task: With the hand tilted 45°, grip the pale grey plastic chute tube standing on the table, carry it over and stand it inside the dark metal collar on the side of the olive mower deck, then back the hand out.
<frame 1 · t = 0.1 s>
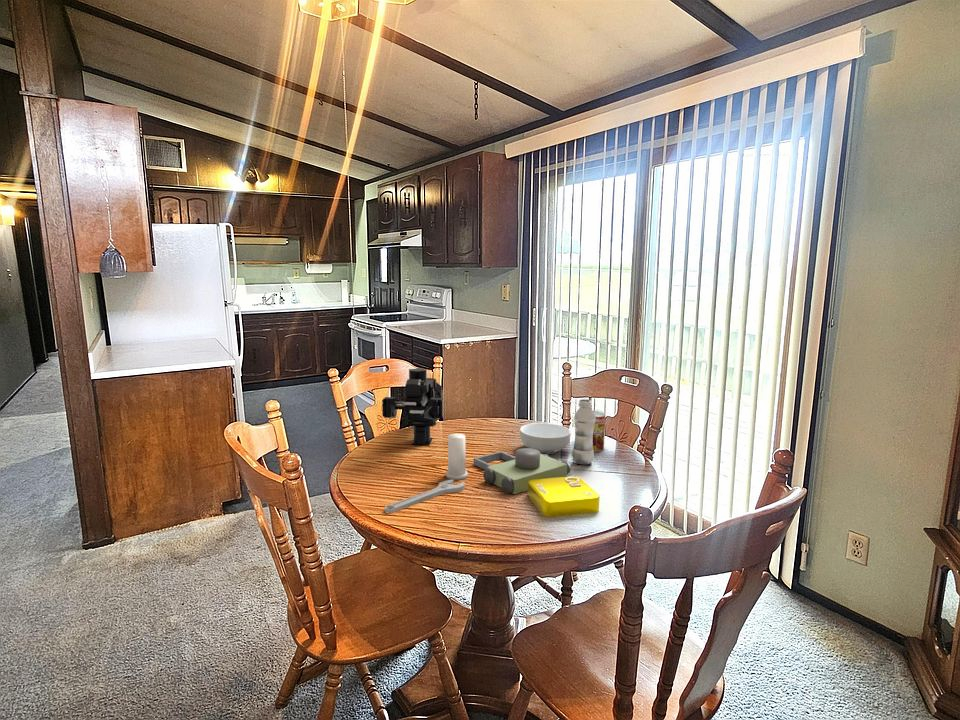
hand: (408, 415, 161), 17 cm above the table, tool horizontal, fingers open, 9 cm apart
element tile: (562, 504, 141), on the table
chute: (456, 475, 158), on the table
cereal bowl: (544, 450, 181), on the table
adjustable wrench: (424, 498, 144), on the table
mower deck: (498, 465, 166), on the table
plastic bottle: (582, 463, 169), on the table
canned food: (591, 448, 183), on the table
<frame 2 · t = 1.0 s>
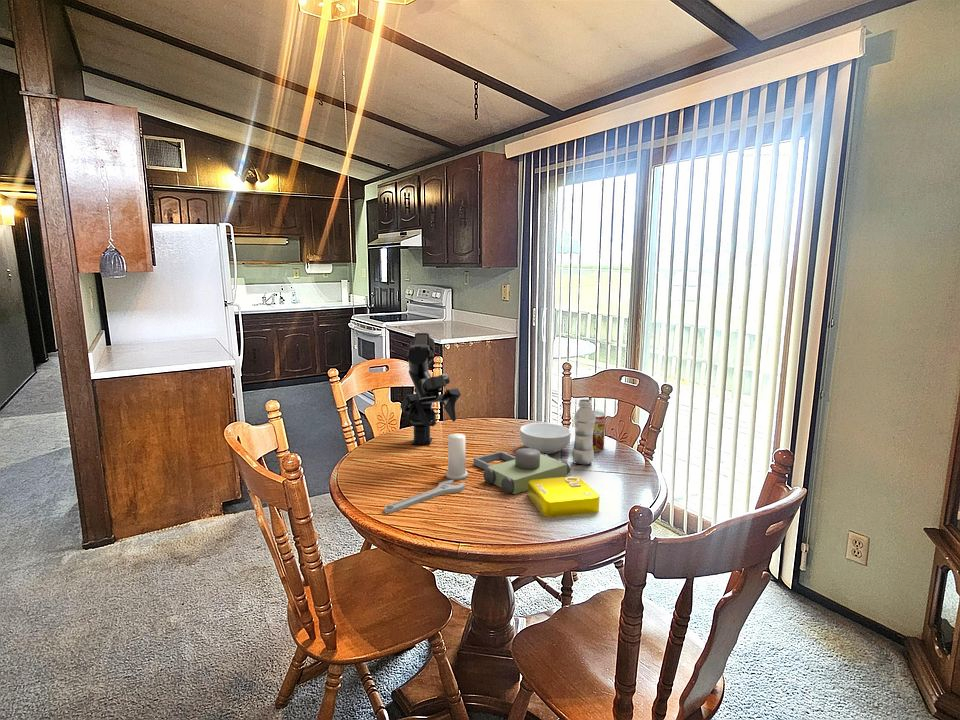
hand: (441, 423, 162), 14 cm above the table, tool tilted 45°, fingers open, 9 cm apart
nothing on the table moved.
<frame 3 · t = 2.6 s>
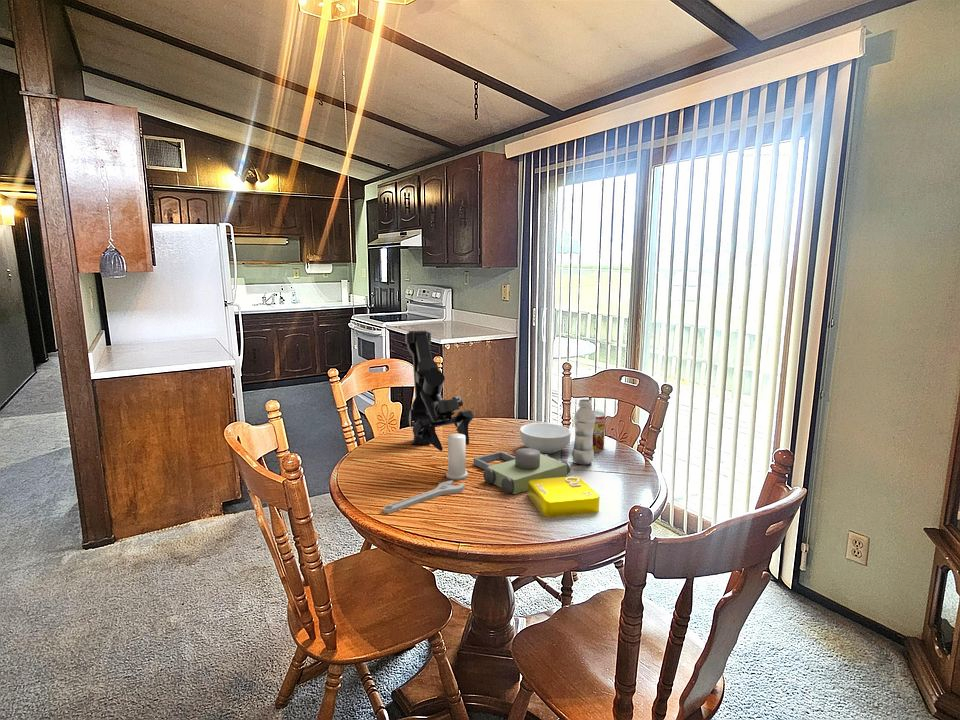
hand: (455, 447, 157), 8 cm above the table, tool tilted 45°, fingers open, 9 cm apart
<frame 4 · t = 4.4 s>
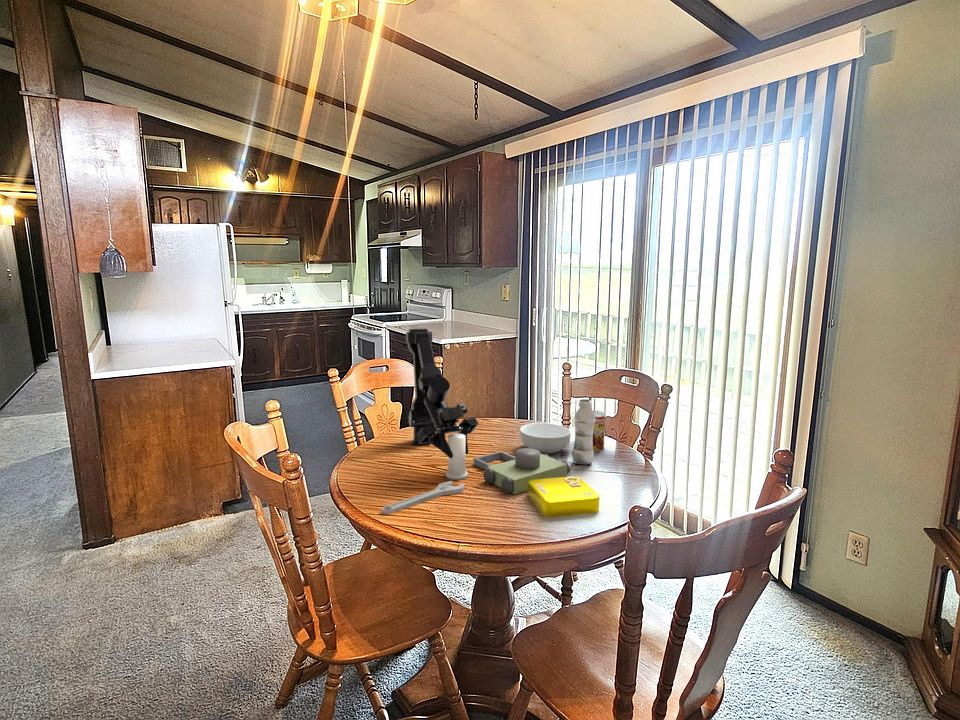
hand: (459, 455, 156), 7 cm above the table, tool tilted 45°, fingers closed on chute, 5 cm apart
chute: (456, 475, 158), on the table, touching gripper
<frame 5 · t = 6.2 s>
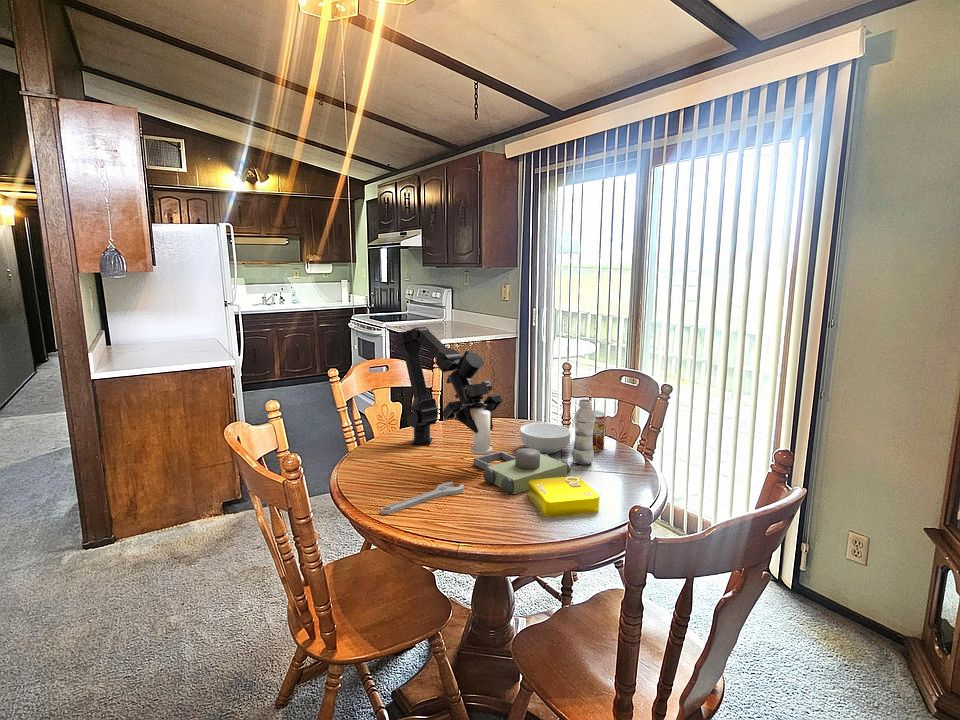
hand: (484, 430, 159), 12 cm above the table, tool tilted 45°, fingers closed on chute, 5 cm apart
chute: (481, 451, 162), point 6 cm above the table, touching gripper
when the fingers open (8 cm above the table, at t = 8.1 s): chute drops 1 cm, resting in mower deck.
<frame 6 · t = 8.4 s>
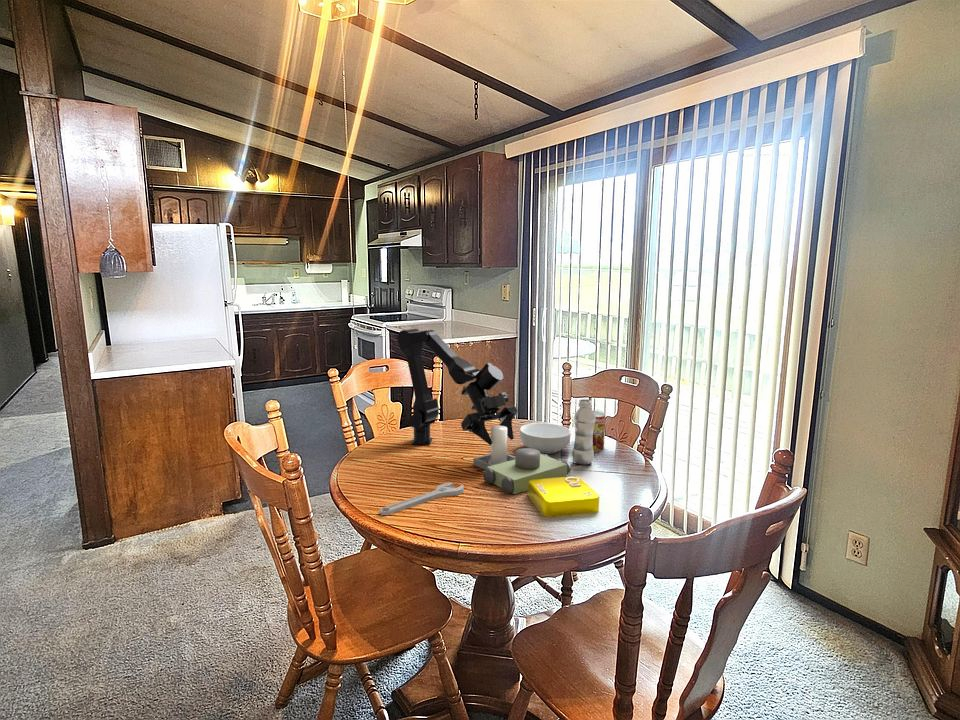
hand: (501, 441, 164), 8 cm above the table, tool tilted 45°, fingers open, 8 cm apart
chute: (498, 465, 166), resting in mower deck
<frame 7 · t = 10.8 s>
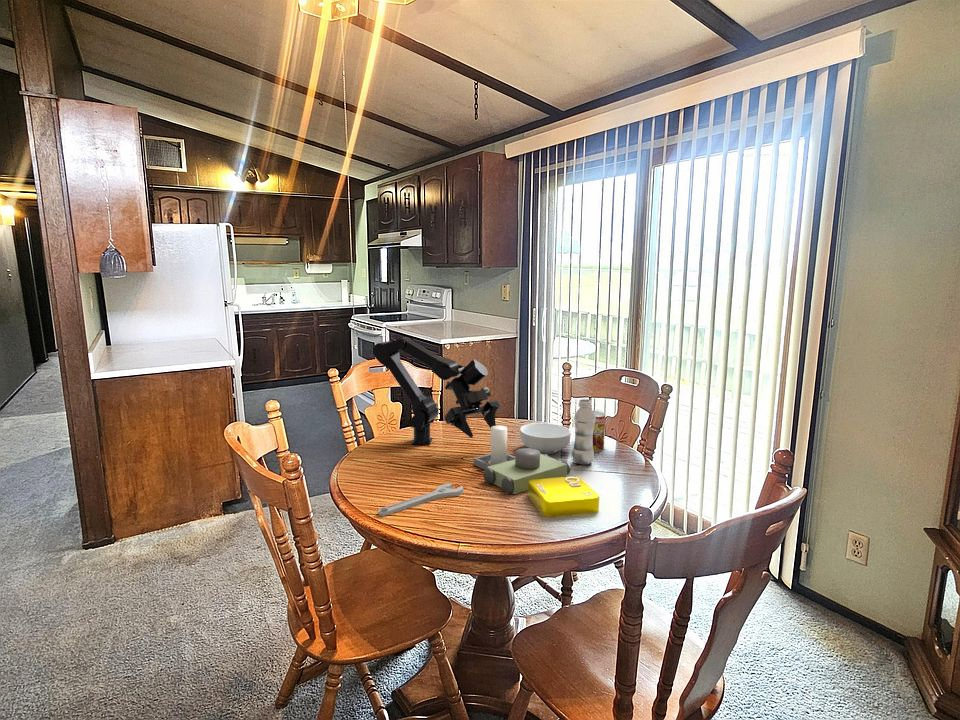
hand: (483, 434, 171), 8 cm above the table, tool tilted 45°, fingers open, 9 cm apart
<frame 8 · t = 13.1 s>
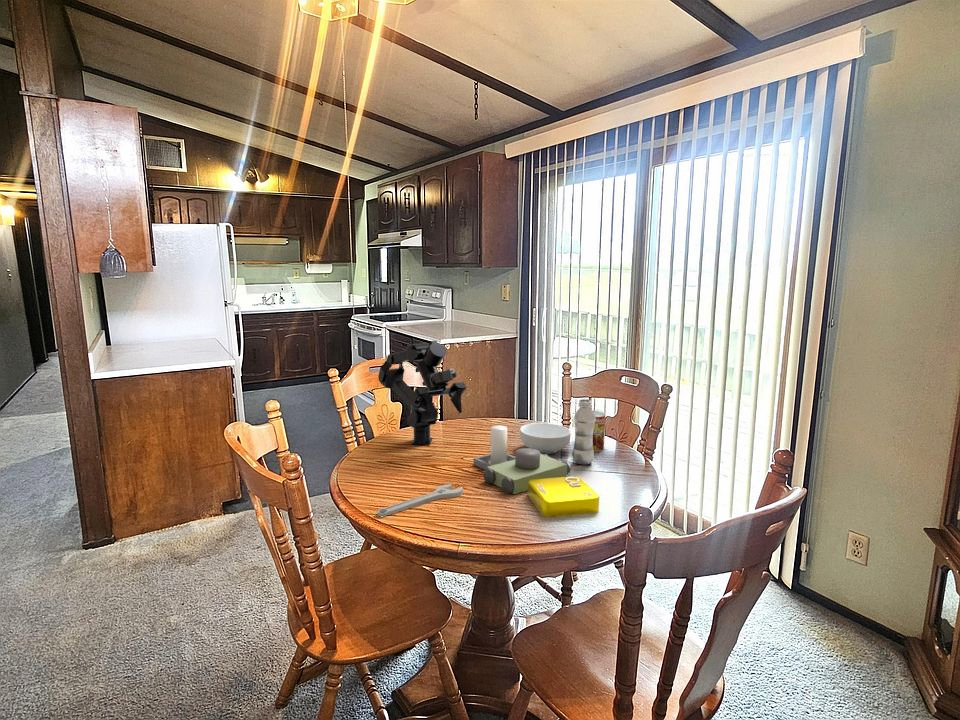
hand: (449, 414, 173), 14 cm above the table, tool tilted 45°, fingers open, 9 cm apart
at the end: chute 0.0 cm off-centre on the mower deck, point 0.0 cm above the mower deck's base; chute tilted 0°; the gripper is holding nothing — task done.
